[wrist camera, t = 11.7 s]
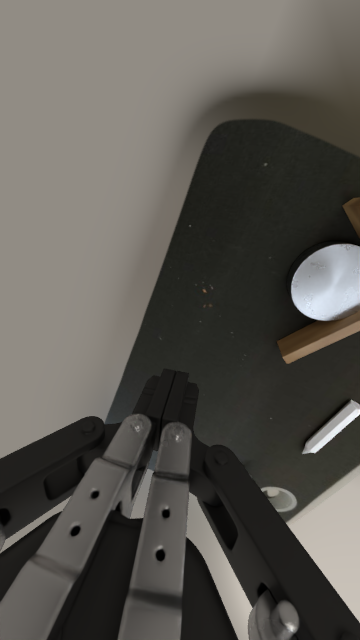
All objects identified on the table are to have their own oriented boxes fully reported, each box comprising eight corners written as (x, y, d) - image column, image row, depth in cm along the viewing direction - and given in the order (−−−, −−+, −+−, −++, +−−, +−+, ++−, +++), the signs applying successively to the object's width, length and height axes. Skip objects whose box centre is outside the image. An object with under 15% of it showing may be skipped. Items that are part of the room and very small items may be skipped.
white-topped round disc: (272, 270, 37) (276, 275, 34) (348, 223, 33) (358, 225, 30) (307, 325, 40) (313, 333, 37) (381, 287, 35) (394, 294, 33)
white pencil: (299, 446, 52) (351, 398, 44) (308, 454, 51) (363, 406, 43) (296, 454, 50) (350, 404, 42) (305, 462, 49) (362, 413, 41)
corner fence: (232, 279, 39) (232, 288, 34) (353, 197, 31) (374, 196, 27) (281, 347, 42) (287, 364, 38) (400, 288, 35) (425, 300, 30)
